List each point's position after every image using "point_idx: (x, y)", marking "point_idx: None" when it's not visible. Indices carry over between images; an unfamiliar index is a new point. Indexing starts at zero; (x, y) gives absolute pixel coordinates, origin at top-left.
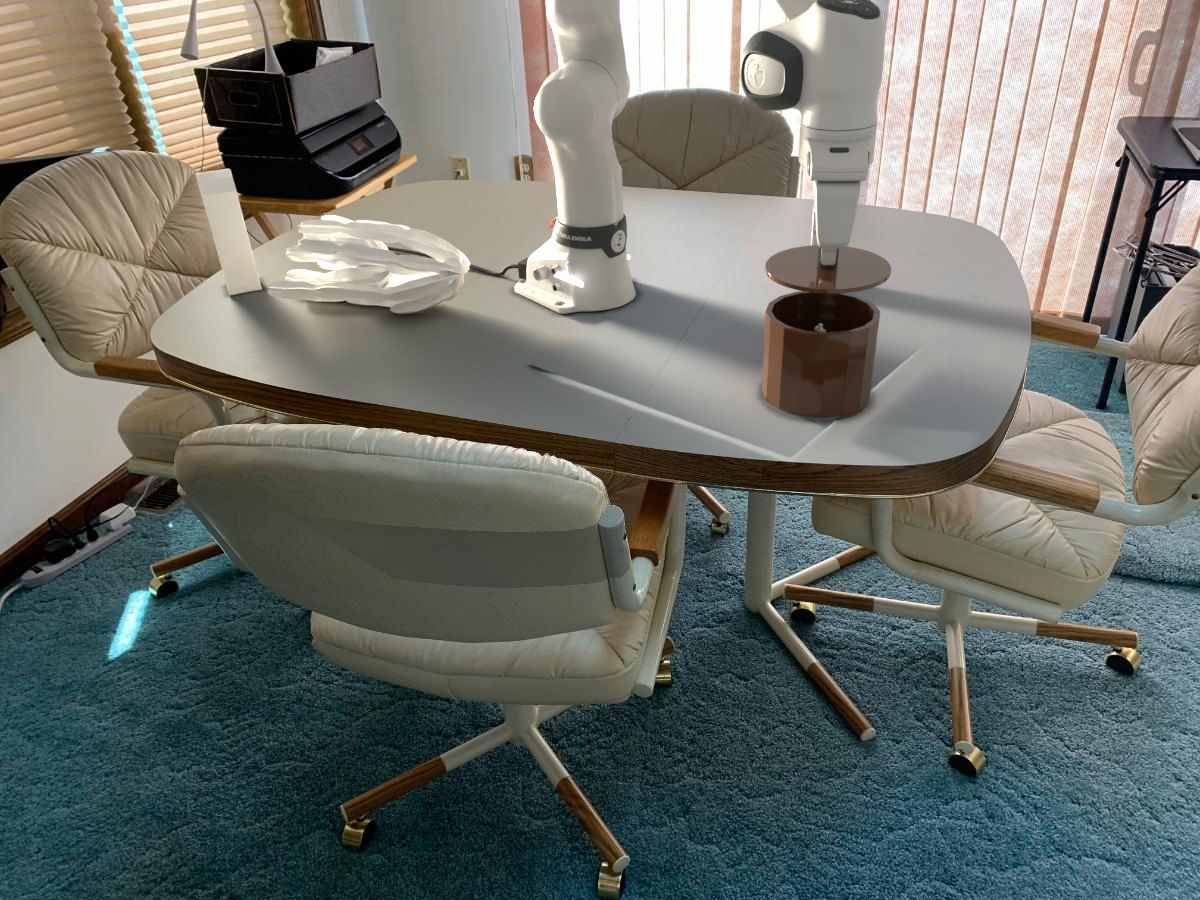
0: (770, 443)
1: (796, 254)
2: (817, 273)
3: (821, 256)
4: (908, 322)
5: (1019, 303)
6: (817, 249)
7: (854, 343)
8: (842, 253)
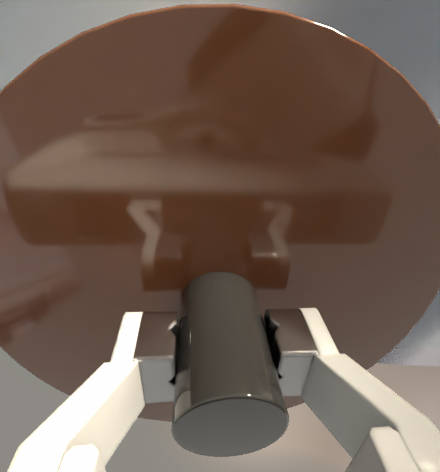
0: (23, 65)
1: (368, 195)
2: (130, 271)
3: (117, 338)
4: None
5: (417, 365)
6: (400, 272)
7: None
8: (334, 338)
